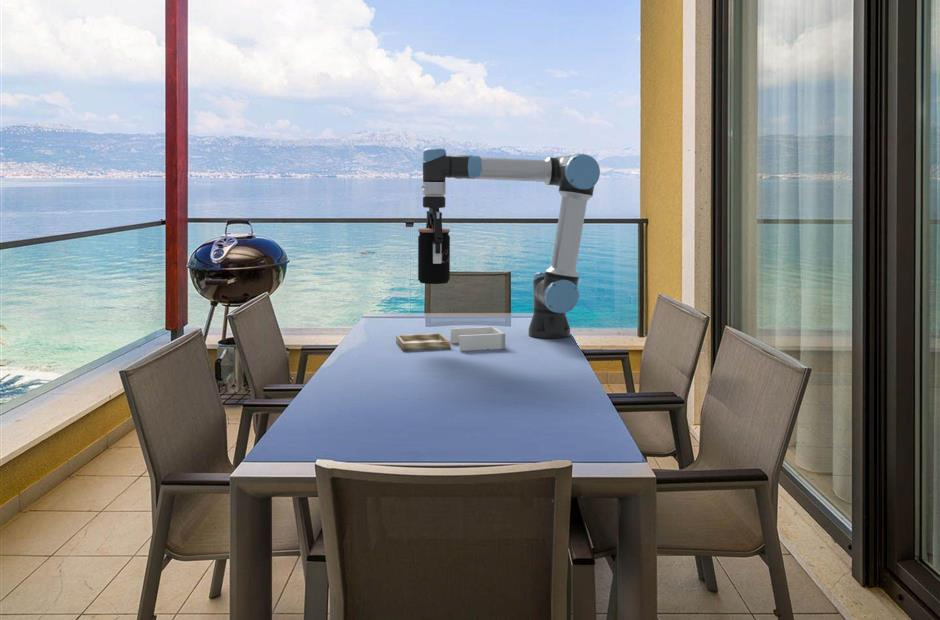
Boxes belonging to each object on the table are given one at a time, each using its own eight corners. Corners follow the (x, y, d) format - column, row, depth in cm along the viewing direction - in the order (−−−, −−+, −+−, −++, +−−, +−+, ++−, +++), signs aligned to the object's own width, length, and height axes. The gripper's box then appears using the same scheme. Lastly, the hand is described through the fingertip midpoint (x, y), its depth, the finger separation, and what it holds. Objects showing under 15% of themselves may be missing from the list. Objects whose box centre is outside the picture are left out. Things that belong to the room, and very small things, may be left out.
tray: (441, 340, 300) (441, 333, 299) (450, 348, 284) (450, 341, 284) (396, 342, 296) (396, 335, 296) (403, 351, 281) (402, 343, 280)
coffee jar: (445, 284, 281) (446, 230, 278) (414, 283, 283) (414, 229, 280) (452, 281, 291) (453, 228, 288) (422, 280, 293) (422, 227, 290)
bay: (493, 340, 299) (493, 326, 298) (505, 348, 284) (505, 333, 283) (450, 342, 295) (450, 328, 294) (460, 350, 280) (460, 336, 280)
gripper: (417, 195, 293) (417, 259, 296) (429, 196, 271) (429, 265, 274) (438, 195, 295) (438, 258, 298) (452, 196, 272) (452, 264, 276)
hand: (433, 262), depth 286 cm, fingers closed on coffee jar, 11 cm apart
